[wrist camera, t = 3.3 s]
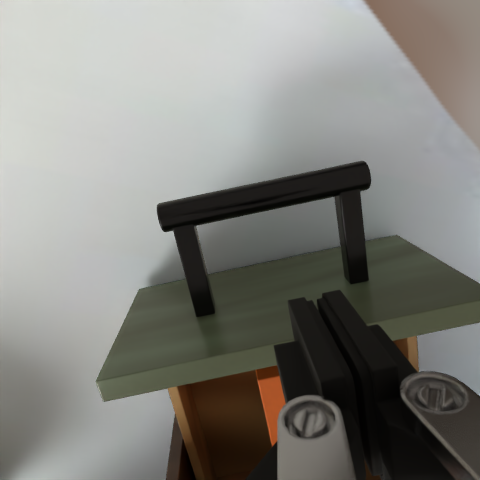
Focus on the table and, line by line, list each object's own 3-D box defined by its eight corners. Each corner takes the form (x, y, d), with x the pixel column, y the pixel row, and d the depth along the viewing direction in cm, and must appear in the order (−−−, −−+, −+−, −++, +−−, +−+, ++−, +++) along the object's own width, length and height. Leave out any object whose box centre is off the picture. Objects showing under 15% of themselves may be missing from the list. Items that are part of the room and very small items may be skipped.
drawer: (111, 199, 22) (43, 246, 13) (389, 141, 22) (503, 149, 14) (195, 472, 29) (187, 623, 20) (411, 426, 29) (496, 557, 20)
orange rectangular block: (247, 319, 24) (257, 380, 18) (311, 306, 24) (341, 362, 18) (263, 395, 26) (277, 472, 20) (323, 382, 26) (354, 456, 20)
